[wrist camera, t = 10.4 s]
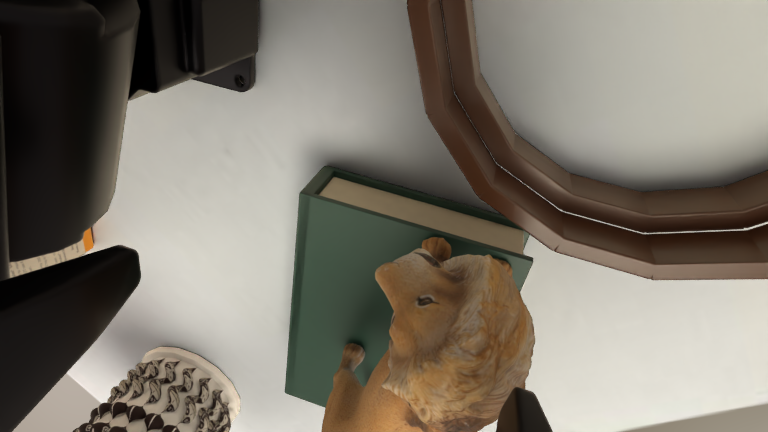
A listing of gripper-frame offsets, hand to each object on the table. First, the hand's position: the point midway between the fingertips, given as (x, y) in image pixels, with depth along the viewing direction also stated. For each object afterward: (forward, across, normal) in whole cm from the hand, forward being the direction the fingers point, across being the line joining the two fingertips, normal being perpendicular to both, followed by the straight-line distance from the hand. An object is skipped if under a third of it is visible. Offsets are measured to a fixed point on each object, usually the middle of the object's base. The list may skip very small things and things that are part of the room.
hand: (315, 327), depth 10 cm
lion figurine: (+9, -2, +6) cm, 11 cm away
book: (+12, -1, +10) cm, 15 cm away
